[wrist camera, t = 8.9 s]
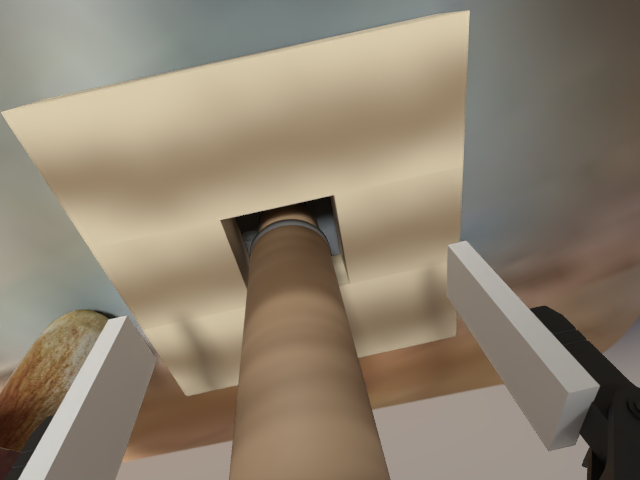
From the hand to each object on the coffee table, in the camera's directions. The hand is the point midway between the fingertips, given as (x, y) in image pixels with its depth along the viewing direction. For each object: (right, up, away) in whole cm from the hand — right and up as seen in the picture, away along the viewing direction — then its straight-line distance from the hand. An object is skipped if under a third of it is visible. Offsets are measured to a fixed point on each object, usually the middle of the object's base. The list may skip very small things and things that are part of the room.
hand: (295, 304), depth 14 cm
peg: (-1, +3, +6) cm, 7 cm away
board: (-1, +3, +6) cm, 7 cm away
